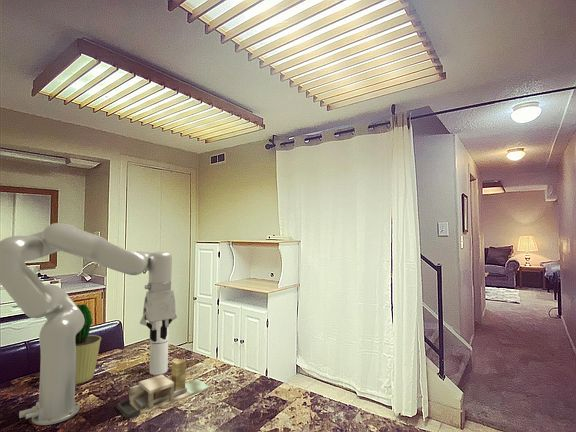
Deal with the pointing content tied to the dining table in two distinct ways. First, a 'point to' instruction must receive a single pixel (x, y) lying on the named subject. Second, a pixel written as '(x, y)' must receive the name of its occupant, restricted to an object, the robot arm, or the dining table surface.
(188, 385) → the tunnel
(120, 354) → the dining table surface
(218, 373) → the dining table surface
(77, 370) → the potted cactus
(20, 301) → the robot arm
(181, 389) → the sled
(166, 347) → the cylindrical container
